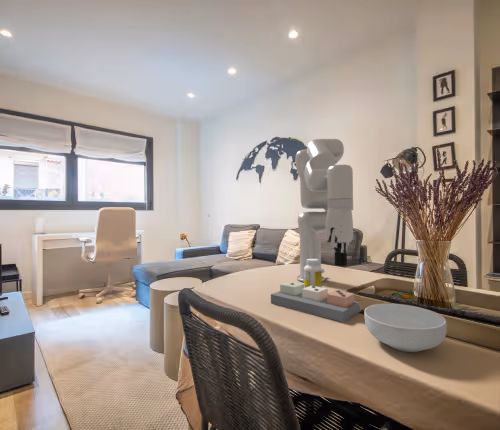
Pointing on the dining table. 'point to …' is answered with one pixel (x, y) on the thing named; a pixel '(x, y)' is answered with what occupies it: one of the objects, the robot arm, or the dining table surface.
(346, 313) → the grey flat board
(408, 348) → the cereal bowl
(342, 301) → the pink block
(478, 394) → the dining table surface
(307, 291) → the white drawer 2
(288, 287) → the knob block
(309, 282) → the supplement bottle
